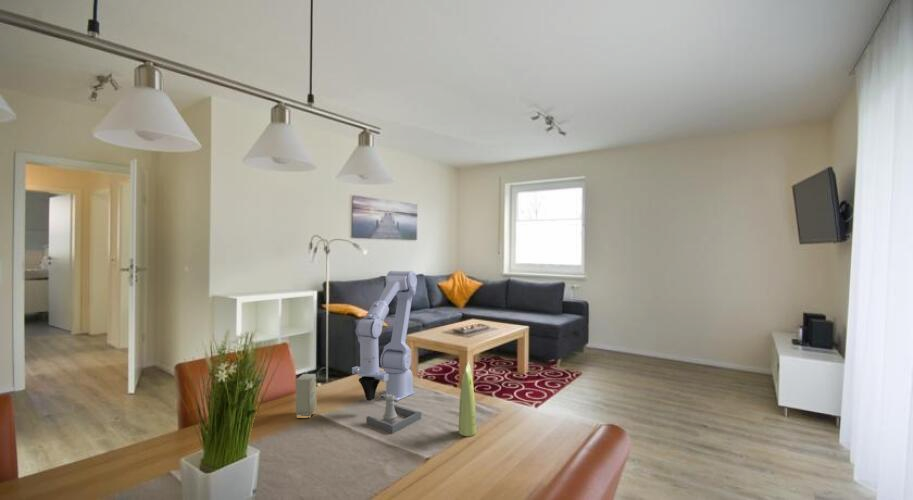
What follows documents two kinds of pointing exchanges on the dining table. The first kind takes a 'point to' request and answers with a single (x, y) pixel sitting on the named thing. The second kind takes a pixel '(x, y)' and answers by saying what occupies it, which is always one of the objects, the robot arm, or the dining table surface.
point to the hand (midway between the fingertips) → (370, 399)
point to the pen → (393, 428)
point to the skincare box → (306, 394)
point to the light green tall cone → (467, 405)
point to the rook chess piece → (390, 409)
